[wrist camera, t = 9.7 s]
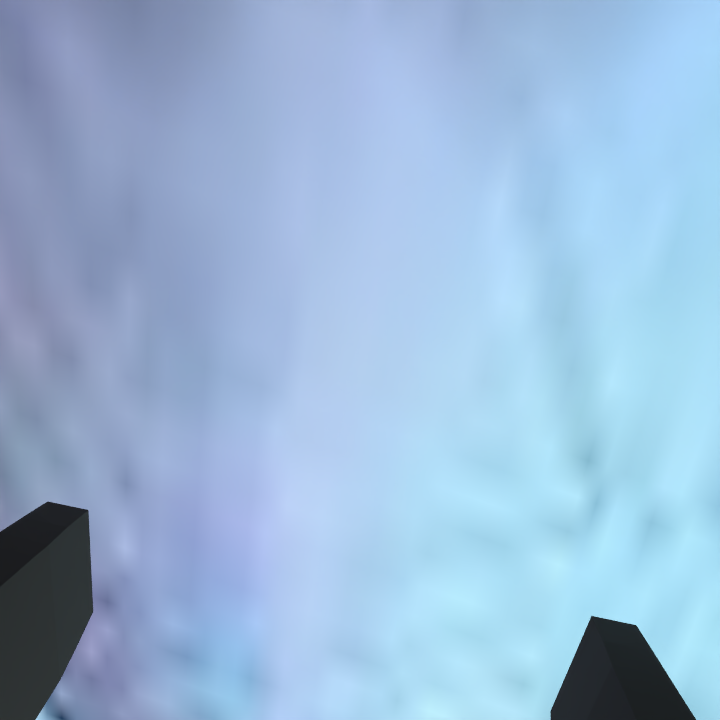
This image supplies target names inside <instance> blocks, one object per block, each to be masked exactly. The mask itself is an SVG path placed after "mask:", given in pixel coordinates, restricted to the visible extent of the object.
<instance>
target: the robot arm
mask: <svg viewBox="0 0 720 720" xmlns="http://www.w3.org/2000/svg"><path fill="white" fill-rule="evenodd" d="M92 613H93V599H92V578H91V557H90V536H89V515H88V510H85V509H80V508H76V507H71V506H66V505H61V504H57V503H52V502H46V503H45V504H43V505H41V506H40V507H38V508H37V509H35V510H34V511H32V512H30V513H29V514H27V515H26V516H24V517H23V518H21V519H19V520H18V521H16V522H15V523H13V524H12V525H10V526H9V527H7V528H6V529H4V530H2V531H1V532H0V720H35V719H36V718H37V716H38V715H39V713H40V711H41V710H42V708H43V707H44V705H45V704H46V702H47V700H48V699H49V697H50V695H51V694H52V692H53V691H54V689H55V687H56V686H57V684H58V682H59V681H60V679H61V677H62V675H63V673H64V671H65V669H66V667H67V665H68V663H69V661H70V659H71V657H72V655H73V653H74V651H75V649H76V647H77V645H78V643H79V641H80V638H81V636H82V634H83V632H84V630H85V628H86V626H87V624H88V621H89V619H90V617H91V615H92ZM551 720H696V719H695V717H694V716H693V714H692V712H691V711H690V709H689V708H688V706H687V705H686V703H685V702H684V700H683V698H682V697H681V695H680V694H679V692H678V690H677V689H676V687H675V686H674V684H673V683H672V681H671V679H670V678H669V676H668V675H667V673H666V671H665V670H664V668H663V667H662V665H661V663H660V662H659V660H658V659H657V657H656V656H655V654H654V652H653V651H652V649H651V648H650V646H649V644H648V643H647V641H646V640H645V638H644V637H643V635H642V634H641V632H640V630H639V629H638V627H637V626H636V625H632V624H627V623H623V622H618V621H613V620H608V619H604V618H599V617H594V616H591V619H590V621H589V623H588V626H587V628H586V630H585V633H584V635H583V637H582V640H581V642H580V644H579V647H578V649H577V651H576V654H575V656H574V658H573V661H572V663H571V665H570V667H569V670H568V672H567V674H566V677H565V679H564V681H563V684H562V686H561V688H560V691H559V693H558V695H557V698H556V700H555V702H554V705H553V707H552V709H551Z"/></svg>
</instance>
